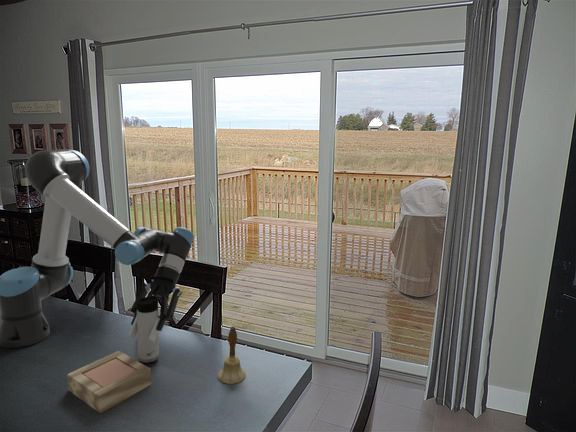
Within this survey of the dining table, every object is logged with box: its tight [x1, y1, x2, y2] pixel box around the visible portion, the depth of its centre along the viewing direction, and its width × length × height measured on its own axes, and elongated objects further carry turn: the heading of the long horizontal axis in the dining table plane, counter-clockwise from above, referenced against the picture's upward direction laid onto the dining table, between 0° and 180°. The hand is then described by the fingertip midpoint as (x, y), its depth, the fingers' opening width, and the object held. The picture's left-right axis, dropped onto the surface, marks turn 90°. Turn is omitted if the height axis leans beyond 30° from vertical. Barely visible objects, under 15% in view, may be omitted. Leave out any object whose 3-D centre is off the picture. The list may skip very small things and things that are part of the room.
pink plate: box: [83, 359, 136, 387], centre depth 113 cm, size 10×10×2 cm
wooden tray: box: [67, 350, 152, 415], centre depth 113 cm, size 16×16×5 cm
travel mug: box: [136, 296, 160, 363], centre depth 125 cm, size 6×7×20 cm
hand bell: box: [217, 326, 246, 385], centre depth 120 cm, size 8×8×16 cm
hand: (141, 338), depth 122 cm, fingers closed on travel mug, 6 cm apart
